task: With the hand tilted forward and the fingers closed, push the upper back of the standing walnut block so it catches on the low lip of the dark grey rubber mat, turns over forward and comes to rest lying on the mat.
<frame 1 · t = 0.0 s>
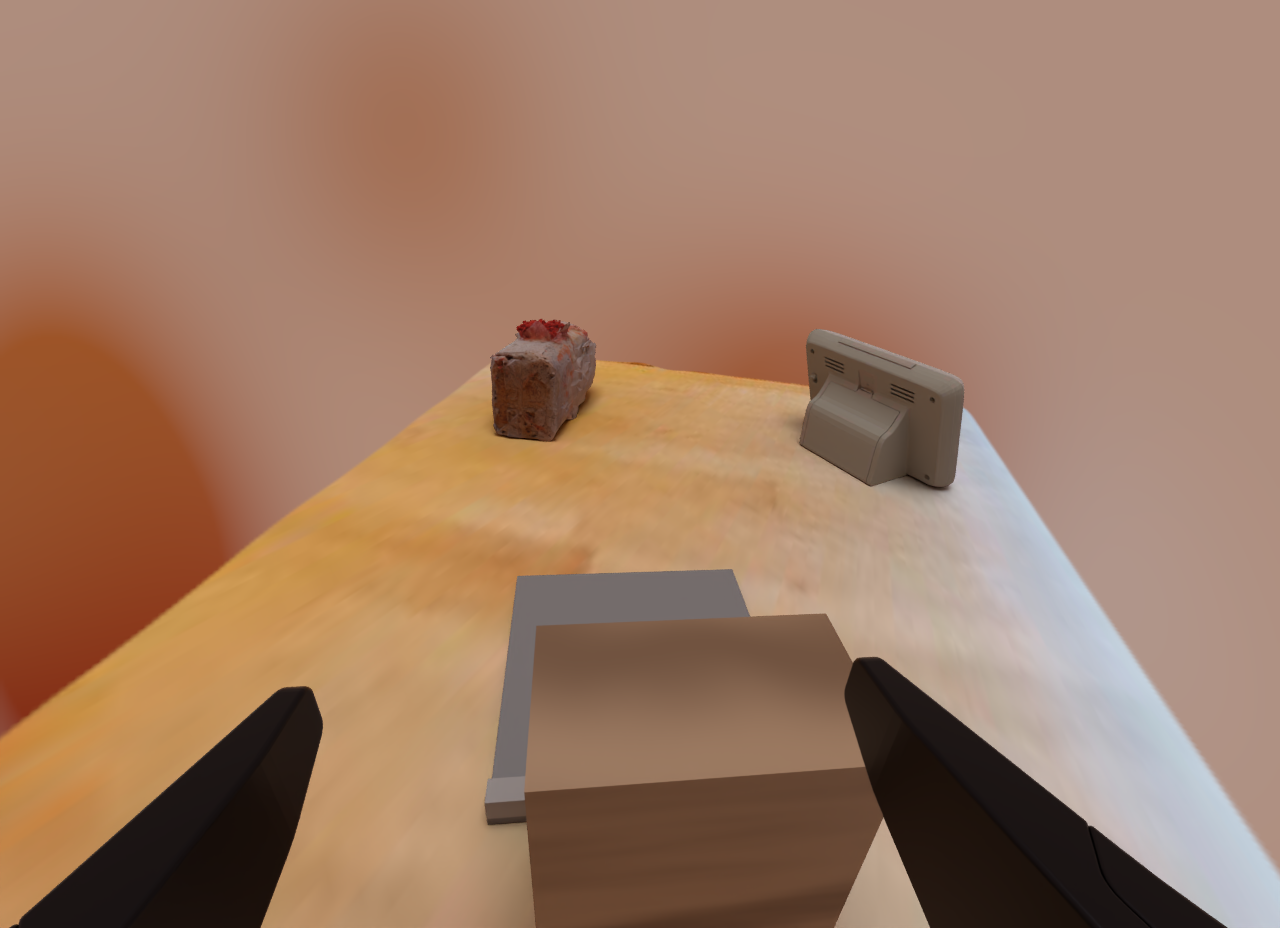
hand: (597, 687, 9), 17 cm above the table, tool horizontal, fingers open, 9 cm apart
digital clock: (862, 458, 54), on the table
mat: (638, 669, 31), on the table
walnut block: (669, 907, 21), on the table
food item: (548, 415, 59), on the table
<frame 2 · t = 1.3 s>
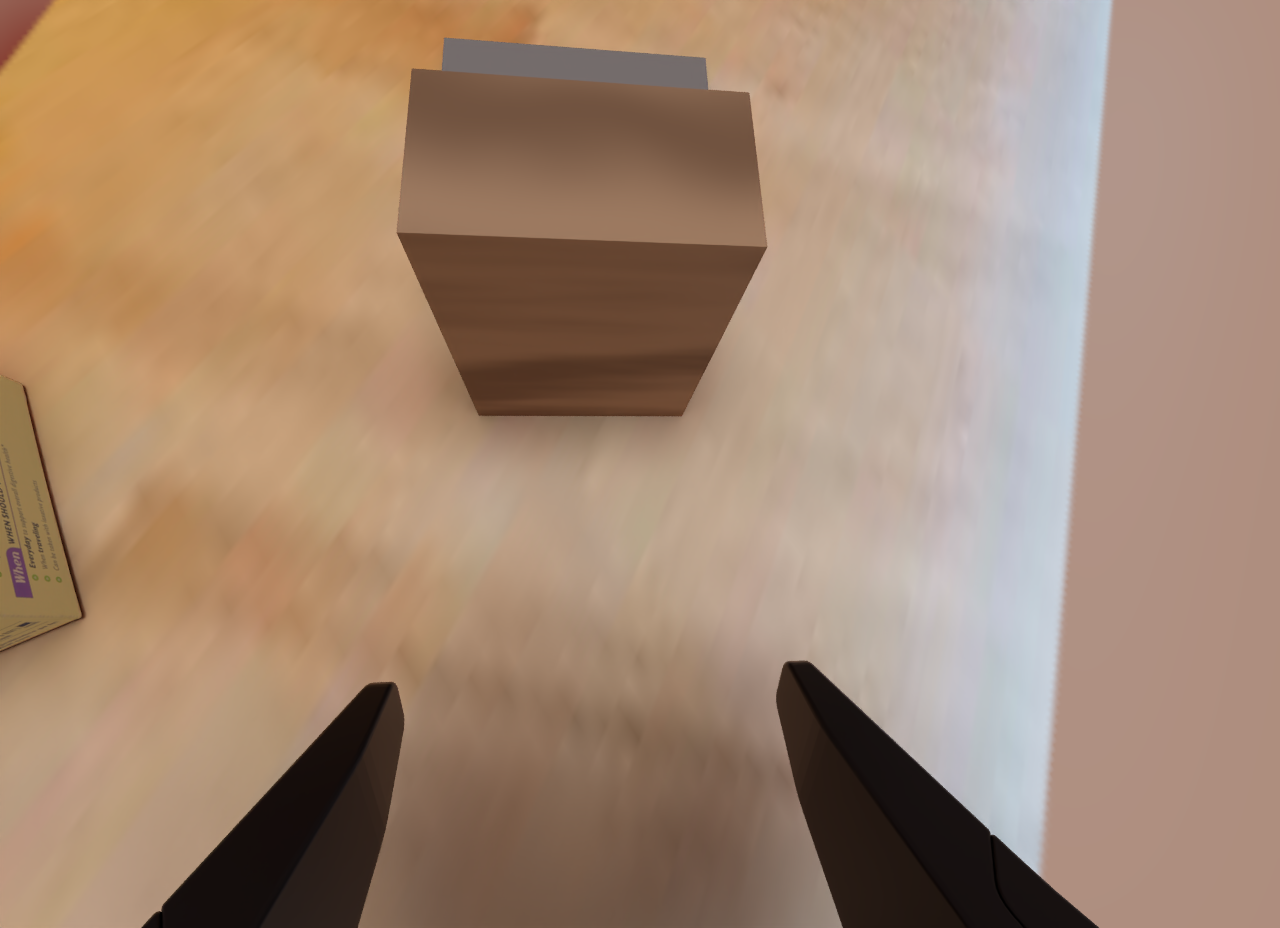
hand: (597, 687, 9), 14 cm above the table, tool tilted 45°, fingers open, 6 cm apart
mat: (579, 167, 29), on the table
walnut block: (581, 364, 26), on the table
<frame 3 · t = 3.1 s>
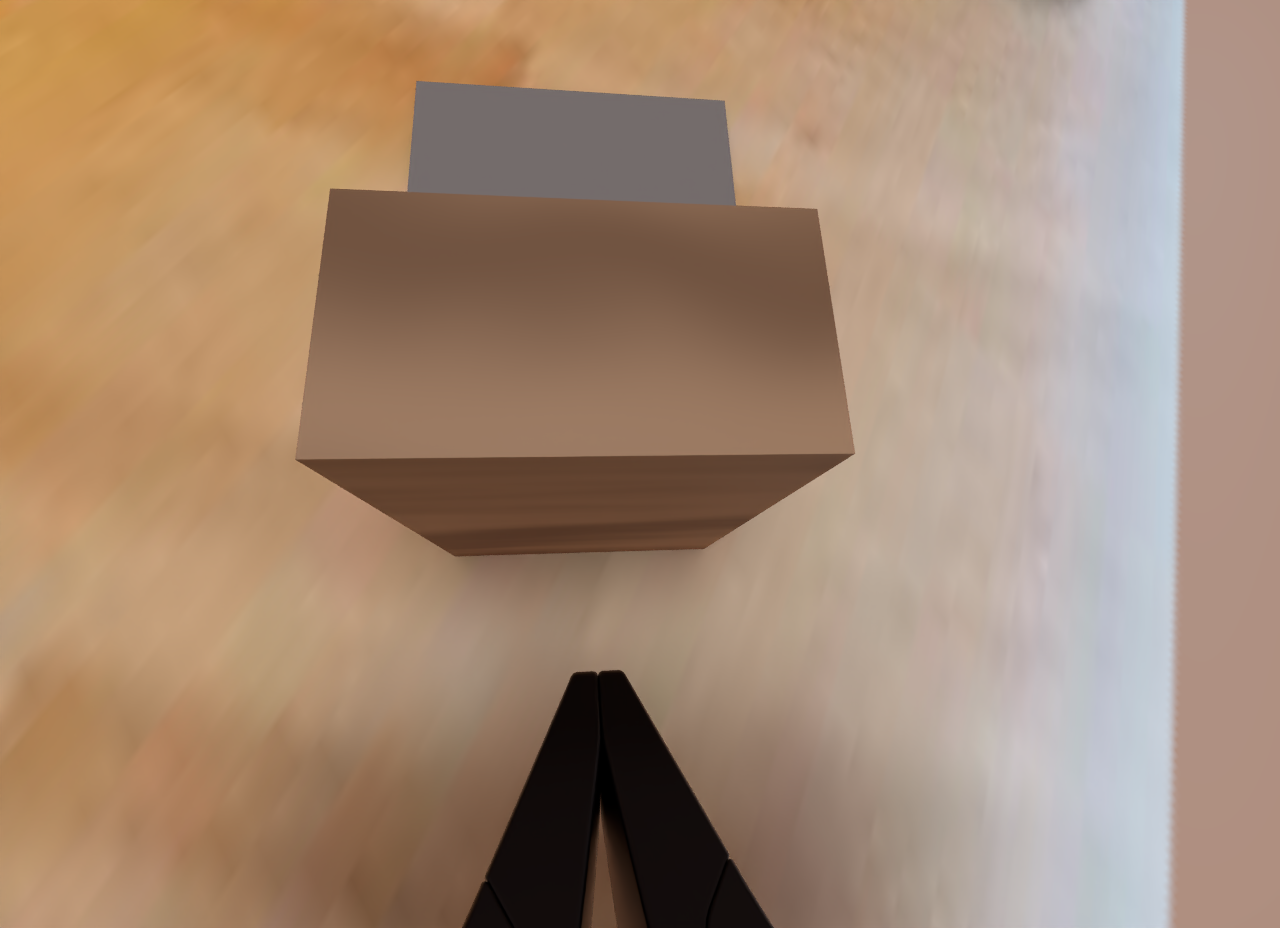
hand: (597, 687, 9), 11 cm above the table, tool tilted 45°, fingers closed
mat: (577, 236, 24), on the table
walnut block: (581, 485, 21), on the table
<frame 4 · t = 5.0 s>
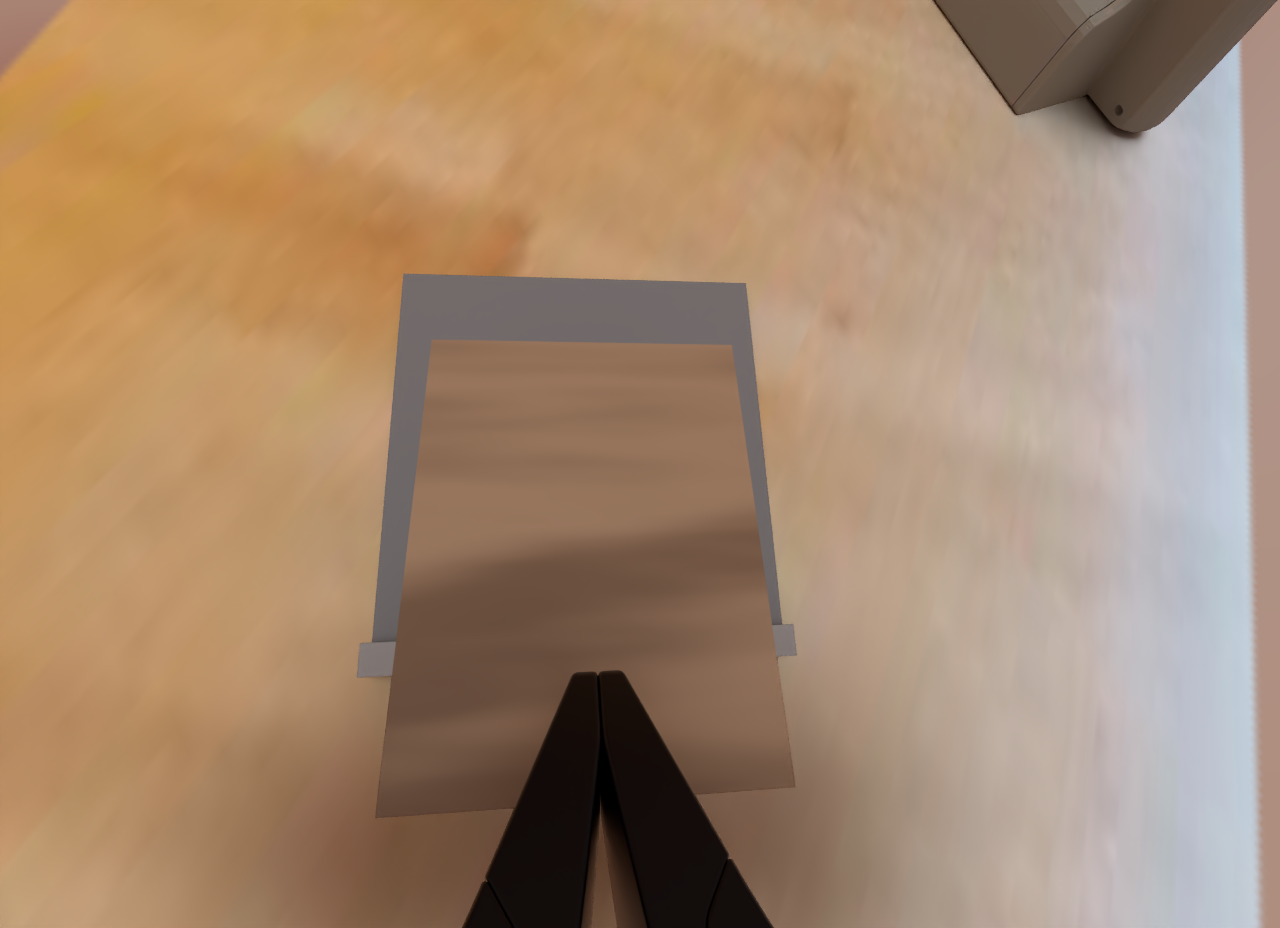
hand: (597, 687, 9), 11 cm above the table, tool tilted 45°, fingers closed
digital clock: (1026, 43, 31), on the table
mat: (582, 455, 22), on the table
walnut block: (591, 789, 14), point 5 cm above the table, tilted 98°, touching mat
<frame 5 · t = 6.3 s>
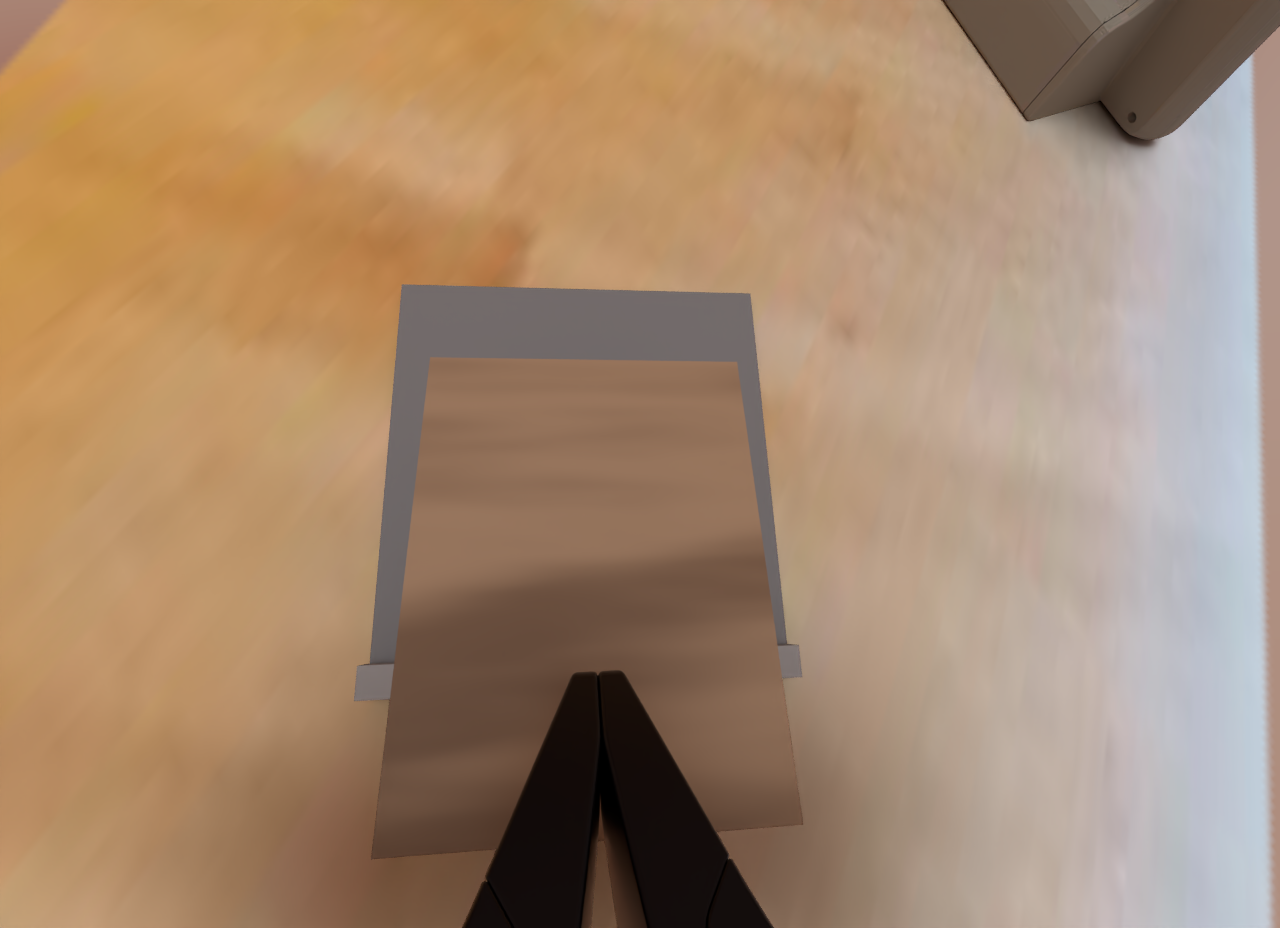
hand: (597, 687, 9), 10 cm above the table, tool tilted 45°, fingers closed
digital clock: (1038, 47, 31), on the table
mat: (584, 470, 21), on the table
walnut block: (593, 821, 14), point 5 cm above the table, tilted 98°, touching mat
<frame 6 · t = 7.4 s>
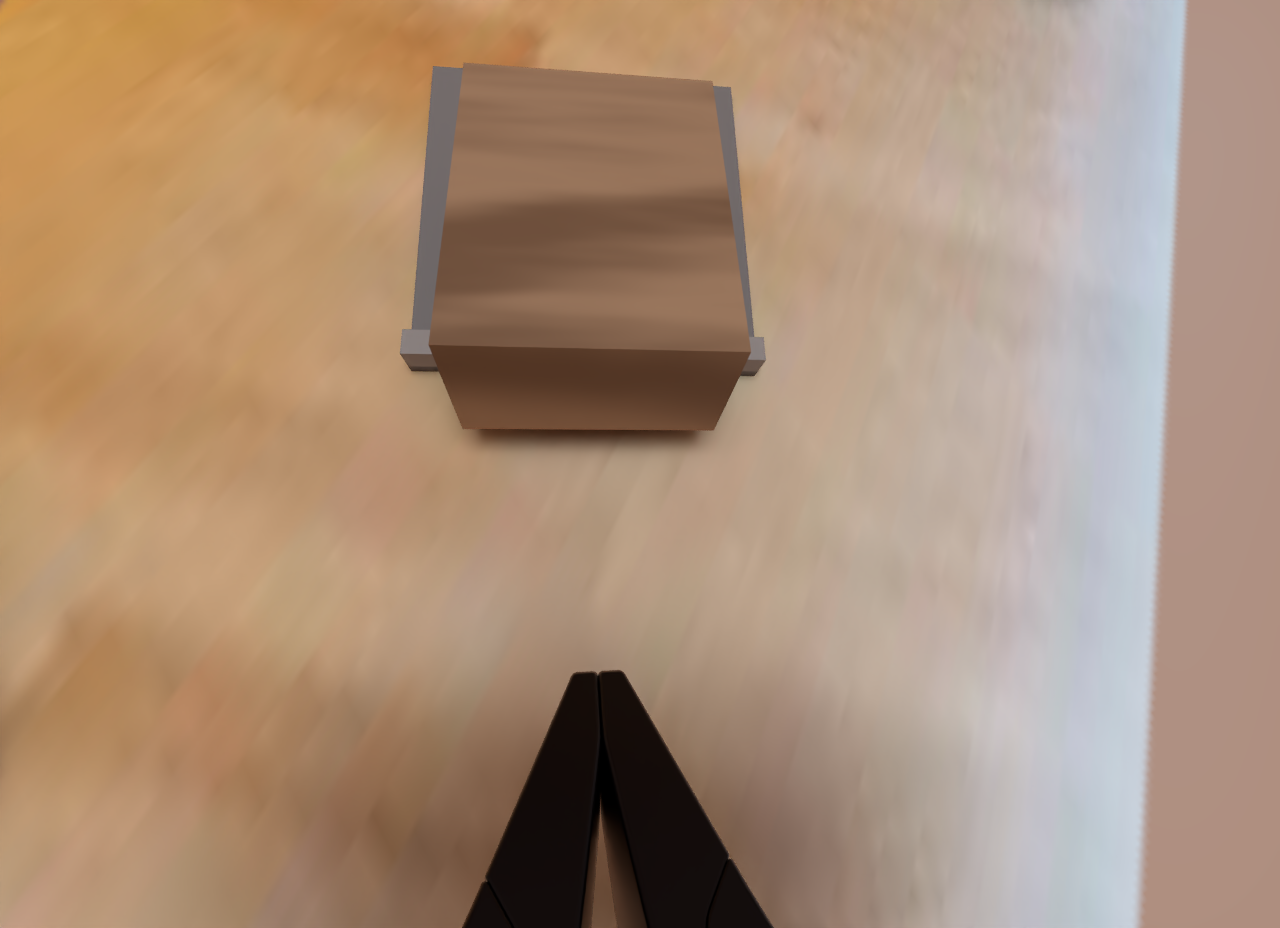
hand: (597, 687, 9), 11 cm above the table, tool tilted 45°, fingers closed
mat: (587, 217, 25), on the table
walnut block: (592, 394, 18), point 5 cm above the table, tilted 98°, touching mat
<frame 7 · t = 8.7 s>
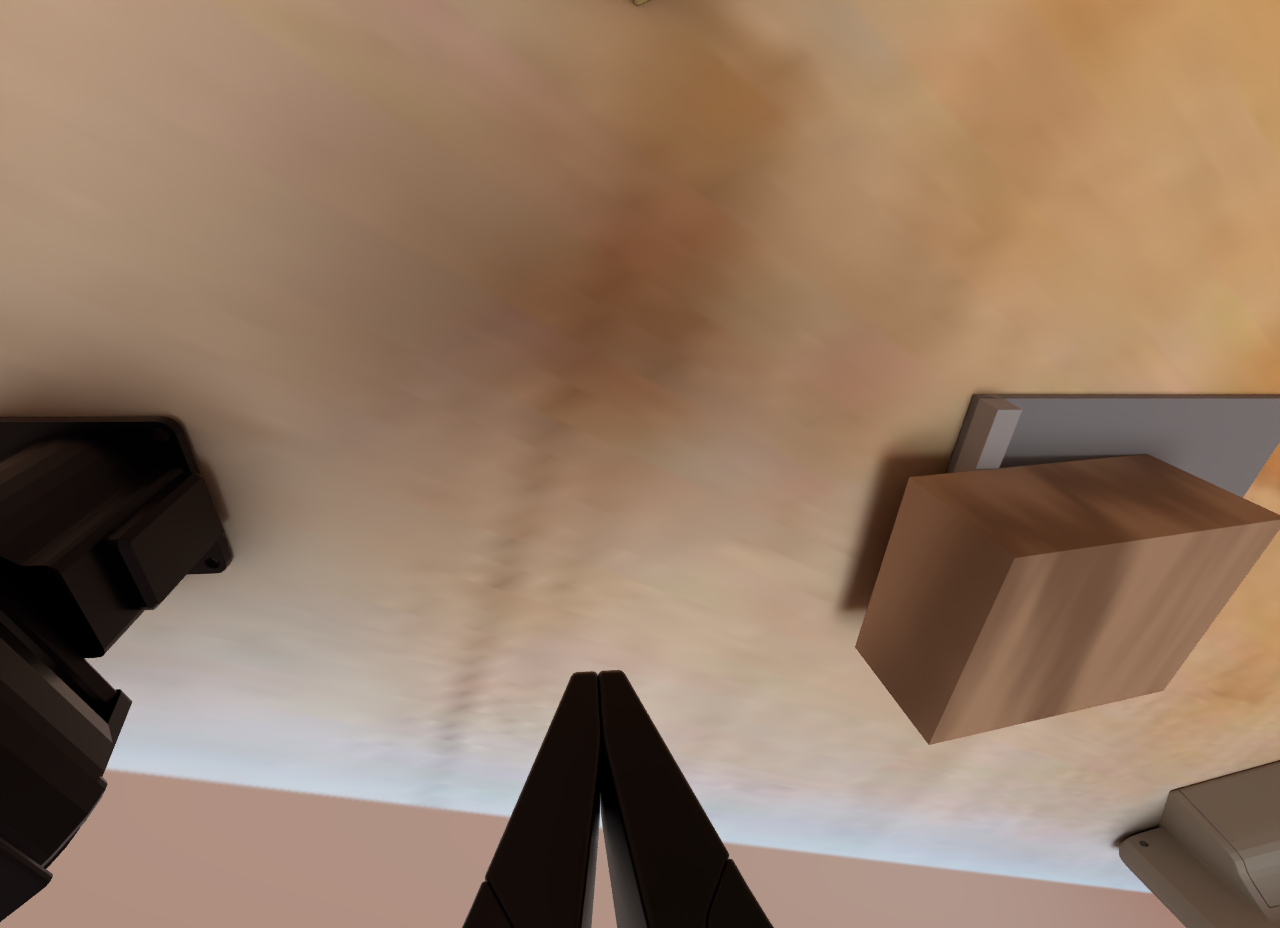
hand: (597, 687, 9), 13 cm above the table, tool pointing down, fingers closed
digital clock: (1216, 800, 42), on the table
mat: (1071, 533, 27), on the table
walnut block: (919, 611, 22), point 5 cm above the table, tilted 98°, touching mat
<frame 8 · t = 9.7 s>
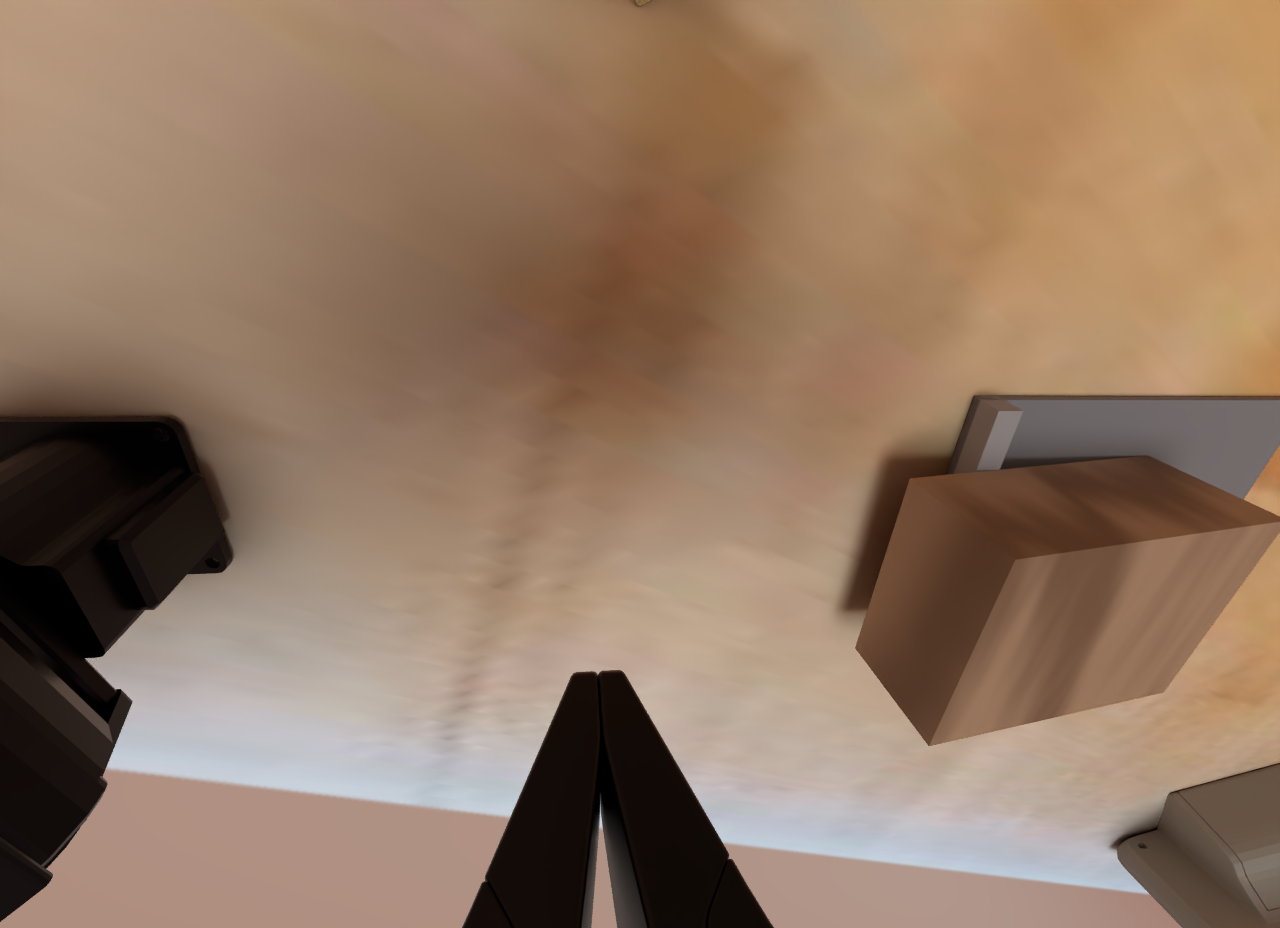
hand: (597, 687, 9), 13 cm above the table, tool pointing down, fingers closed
digital clock: (1214, 802, 42), on the table
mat: (1072, 534, 27), on the table
walnut block: (919, 612, 22), point 5 cm above the table, tilted 98°, touching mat
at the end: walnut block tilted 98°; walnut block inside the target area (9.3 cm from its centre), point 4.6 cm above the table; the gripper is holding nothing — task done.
